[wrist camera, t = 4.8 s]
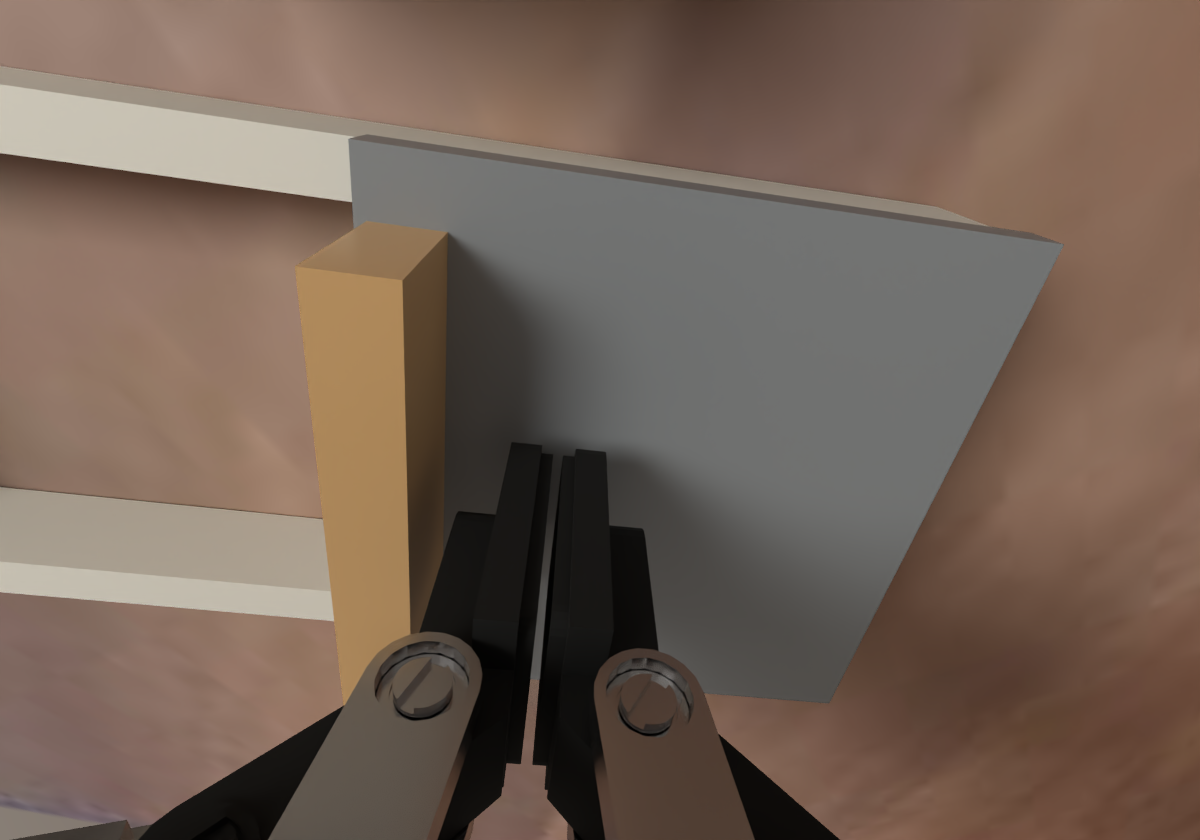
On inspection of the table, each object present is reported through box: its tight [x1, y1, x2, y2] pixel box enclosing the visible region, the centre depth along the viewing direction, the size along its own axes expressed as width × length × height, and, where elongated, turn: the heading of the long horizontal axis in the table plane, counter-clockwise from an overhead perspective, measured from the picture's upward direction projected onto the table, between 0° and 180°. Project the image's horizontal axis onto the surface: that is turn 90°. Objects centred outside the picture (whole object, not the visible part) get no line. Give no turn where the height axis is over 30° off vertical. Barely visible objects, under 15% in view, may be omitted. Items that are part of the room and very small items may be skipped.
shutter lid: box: [295, 134, 1064, 705], centre depth 11 cm, size 11×11×3 cm
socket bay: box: [0, 66, 990, 621], centre depth 13 cm, size 24×11×2 cm, turn 82°
